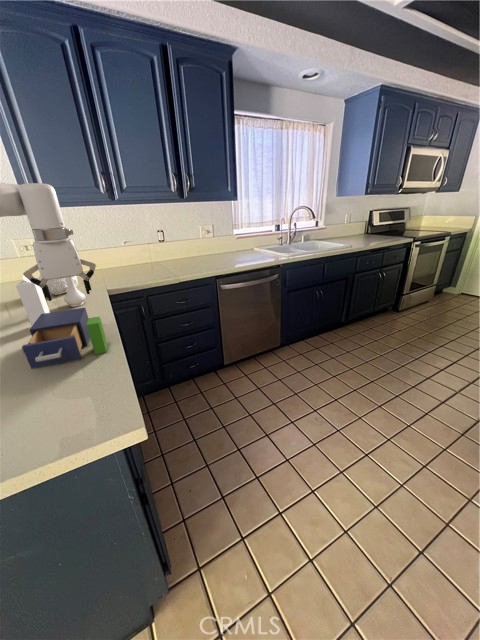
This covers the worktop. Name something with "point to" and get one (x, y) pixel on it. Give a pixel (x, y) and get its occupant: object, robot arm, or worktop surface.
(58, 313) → the cabinet
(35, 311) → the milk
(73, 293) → the flower vase
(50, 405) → the worktop surface
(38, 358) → the drawer
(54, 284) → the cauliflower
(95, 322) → the green rectangular box
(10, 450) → the worktop surface
